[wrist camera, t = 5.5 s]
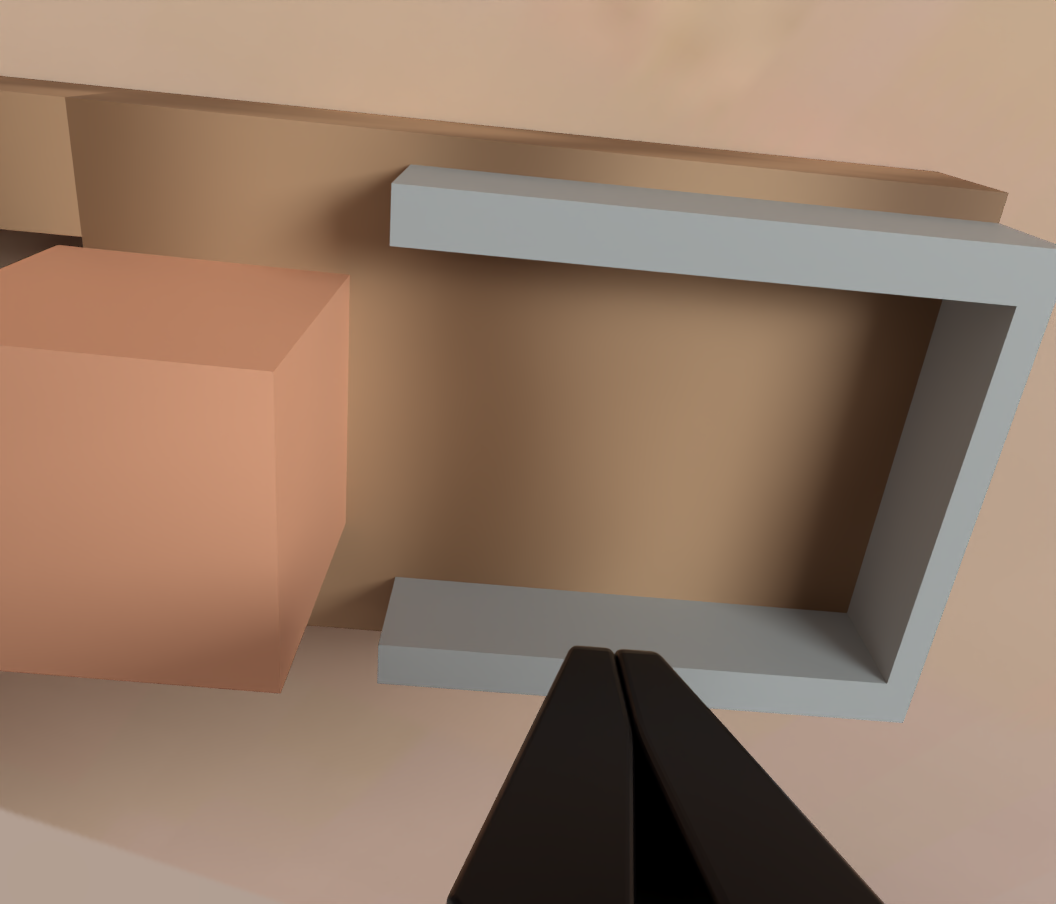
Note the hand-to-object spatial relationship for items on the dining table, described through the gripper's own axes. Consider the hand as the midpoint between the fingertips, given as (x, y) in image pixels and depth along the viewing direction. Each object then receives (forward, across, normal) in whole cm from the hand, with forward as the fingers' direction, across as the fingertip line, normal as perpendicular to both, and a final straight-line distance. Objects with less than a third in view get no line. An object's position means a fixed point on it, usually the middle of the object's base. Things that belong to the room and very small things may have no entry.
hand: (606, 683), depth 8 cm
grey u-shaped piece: (+7, -2, 0) cm, 7 cm away
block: (+7, +6, 0) cm, 9 cm away
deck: (+9, +4, 0) cm, 10 cm away
